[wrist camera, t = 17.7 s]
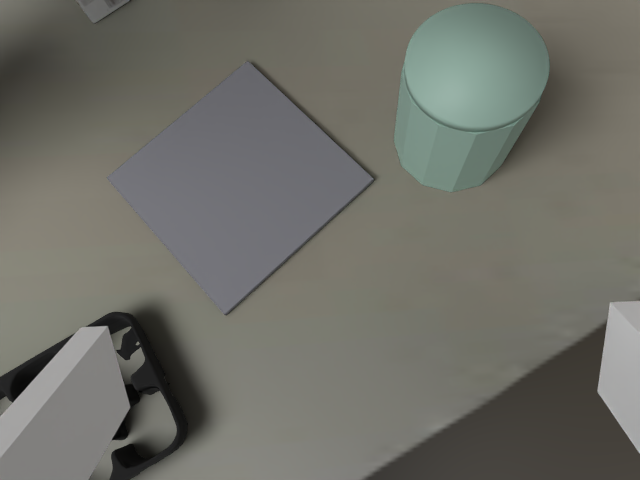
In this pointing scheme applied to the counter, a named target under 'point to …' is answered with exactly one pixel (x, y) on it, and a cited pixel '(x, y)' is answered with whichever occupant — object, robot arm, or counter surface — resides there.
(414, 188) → the counter surface
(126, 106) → the counter surface
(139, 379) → the egg carton
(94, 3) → the coffee box
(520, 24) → the faceted lidded jar
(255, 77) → the mat
